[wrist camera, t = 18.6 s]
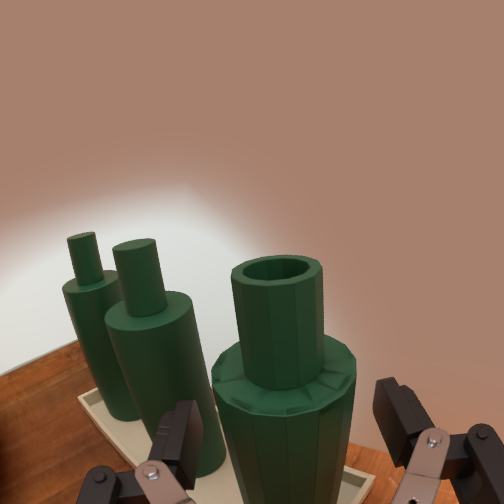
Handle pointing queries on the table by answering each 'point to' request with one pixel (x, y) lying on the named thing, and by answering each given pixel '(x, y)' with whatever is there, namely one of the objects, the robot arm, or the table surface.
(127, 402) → the row bottle
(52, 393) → the table surface
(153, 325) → the row bottle
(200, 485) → the tray
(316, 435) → the bottle
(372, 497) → the table surface
